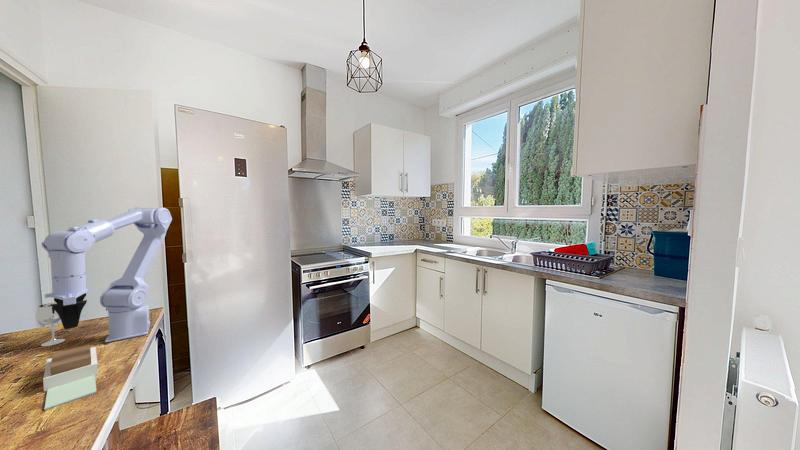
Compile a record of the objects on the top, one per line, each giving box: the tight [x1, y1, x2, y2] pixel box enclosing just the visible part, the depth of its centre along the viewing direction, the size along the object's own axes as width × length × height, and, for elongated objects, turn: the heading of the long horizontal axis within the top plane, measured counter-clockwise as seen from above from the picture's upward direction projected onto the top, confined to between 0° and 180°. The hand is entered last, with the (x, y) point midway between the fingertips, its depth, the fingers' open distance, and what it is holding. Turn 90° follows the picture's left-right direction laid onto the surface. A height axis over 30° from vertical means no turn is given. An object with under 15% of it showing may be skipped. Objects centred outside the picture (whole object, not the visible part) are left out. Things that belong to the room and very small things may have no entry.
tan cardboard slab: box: [50, 344, 91, 376], centre depth 65 cm, size 9×6×2 cm, turn 51°
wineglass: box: [35, 301, 66, 347], centre depth 79 cm, size 6×6×12 cm
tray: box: [42, 346, 99, 392], centre depth 65 cm, size 12×8×3 cm, turn 51°
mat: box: [43, 375, 97, 411], centre depth 59 cm, size 9×7×1 cm
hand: (71, 324), depth 71 cm, fingers open, 6 cm apart
